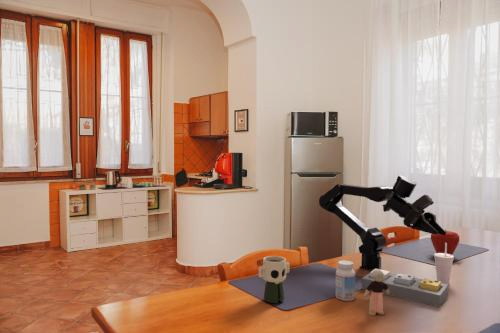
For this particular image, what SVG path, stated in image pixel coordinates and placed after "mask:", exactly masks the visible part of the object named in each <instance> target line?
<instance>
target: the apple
mask: <svg viewBox="0 0 500 333" xmlns="http://www.w3.org/2000/svg"><path fill="white" fill-rule="evenodd" d="M444 231H445V232H446V235H441V234H438V233H437V235H435V234H431V233H430V240H431V244H432V246H433V248H434V251H435V253H445V243H447V254H450V255H454V253H455V251H456V249H457V247H458V245H459V243H460V235H459V234H458V233H457V232H454V231H449V230H446V229H444Z"/></svg>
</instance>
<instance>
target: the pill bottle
mask: <svg viewBox="0 0 500 333" xmlns="http://www.w3.org/2000/svg"><path fill="white" fill-rule="evenodd" d="M337 267H338V268H337V269H336V270H335V297H336V298H338V300H339V299H340V300H341V301H342V302H343V301H344V302H349V301H351V302H352V301H354V300H355V298H356V272H355V269H354V262H353V261H351V260H339V261H338V262H337Z"/></svg>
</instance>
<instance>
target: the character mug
mask: <svg viewBox="0 0 500 333" xmlns="http://www.w3.org/2000/svg"><path fill="white" fill-rule="evenodd" d="M286 261H287V259H286V257H283V256H279V255H267V256H264V257H263V258H262V266H259V267H258V278H262V279H263V280H264V281H266V282H265V284H264V285H265V286H264V291H263V292H264V293H263V299H264V300H265V301H266V302H268V303H272V304H278V303H279V300H280V303H281V302H284V301H285V291H284V285H283V282H284V281H285V280H286V278H287V274H289V273H290V262H286ZM283 300H284V301H283Z"/></svg>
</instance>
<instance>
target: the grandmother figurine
mask: <svg viewBox="0 0 500 333" xmlns="http://www.w3.org/2000/svg"><path fill="white" fill-rule="evenodd" d="M381 270H382V269H380V270H379V269H376V270H374V271H373V272H372V277H373V279H374V280H375V281H372V282H371V283H370V284H369V286H368V287H367V288H366V290H364V291H365V292H364V293H363V295H364V296H365V297H368V295H369V294H371V295H370V298H369V307H368V309H369V310H368V311H367V312H368V315H369V316H376V315H383V316H384V314H385V313H384V308H383V307H384V305H383V301H384V300H383V296H384V294H383V289H384V290H385V291H386V293H387V294H389V293H390V291H389V289H388V286H387V285H386V284H385V283H384V282H382V279H383V277H384V273H383V272H382V271H381ZM371 290H372V291H371ZM370 292H371V293H370ZM387 294H386V295H387Z"/></svg>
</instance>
